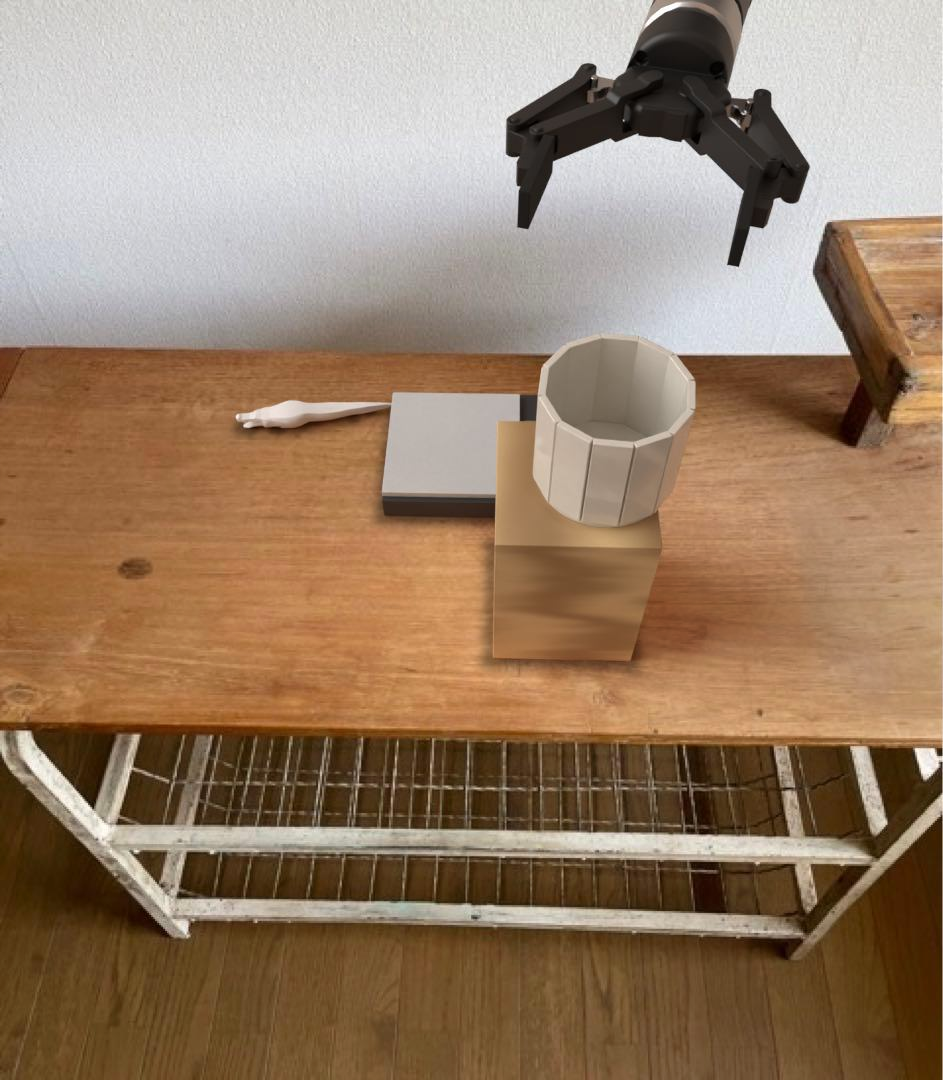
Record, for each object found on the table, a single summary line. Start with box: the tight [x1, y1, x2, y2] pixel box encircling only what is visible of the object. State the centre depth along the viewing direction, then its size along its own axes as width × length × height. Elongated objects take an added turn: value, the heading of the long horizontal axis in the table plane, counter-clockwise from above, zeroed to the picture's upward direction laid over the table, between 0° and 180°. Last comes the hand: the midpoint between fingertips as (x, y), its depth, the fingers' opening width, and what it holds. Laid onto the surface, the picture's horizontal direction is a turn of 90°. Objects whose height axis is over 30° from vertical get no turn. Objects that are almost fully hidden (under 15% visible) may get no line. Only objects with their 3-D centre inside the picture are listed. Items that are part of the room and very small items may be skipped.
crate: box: [492, 421, 663, 662], centre depth 70 cm, size 11×11×16 cm
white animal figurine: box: [235, 399, 392, 429], centre depth 87 cm, size 15×3×2 cm, turn 98°
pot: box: [533, 332, 697, 528], centre depth 60 cm, size 10×10×8 cm
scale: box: [381, 391, 538, 519], centre depth 84 cm, size 14×13×3 cm
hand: (628, 229), depth 57 cm, fingers open, 13 cm apart
